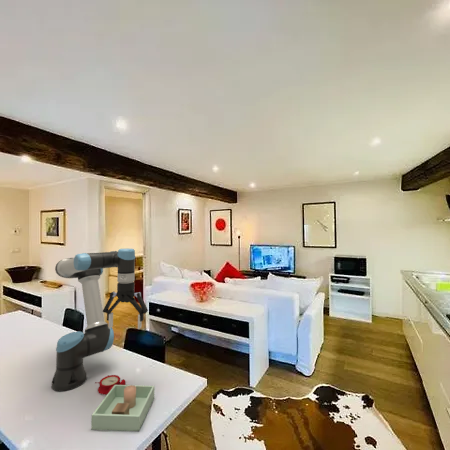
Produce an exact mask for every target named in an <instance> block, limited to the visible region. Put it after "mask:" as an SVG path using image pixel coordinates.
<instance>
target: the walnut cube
mask: <svg viewBox="0 0 450 450" xmlns="http://www.w3.org/2000/svg"><path fill="white" fill-rule="evenodd" d="M112 414H121V415H129V403H117V405H116V406H115V408H114V409H113V411H112Z"/></svg>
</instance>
